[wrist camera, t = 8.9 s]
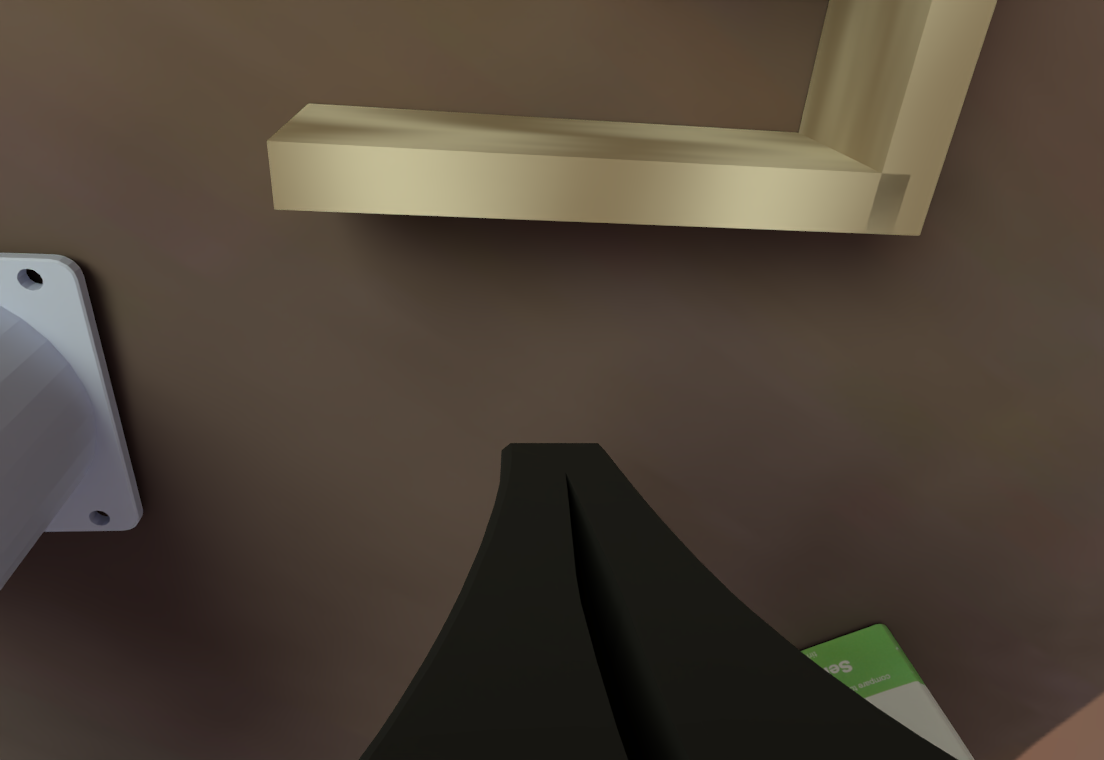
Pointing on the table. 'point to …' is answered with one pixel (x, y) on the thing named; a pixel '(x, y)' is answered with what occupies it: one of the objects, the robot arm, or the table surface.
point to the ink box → (888, 683)
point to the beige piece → (672, 145)
